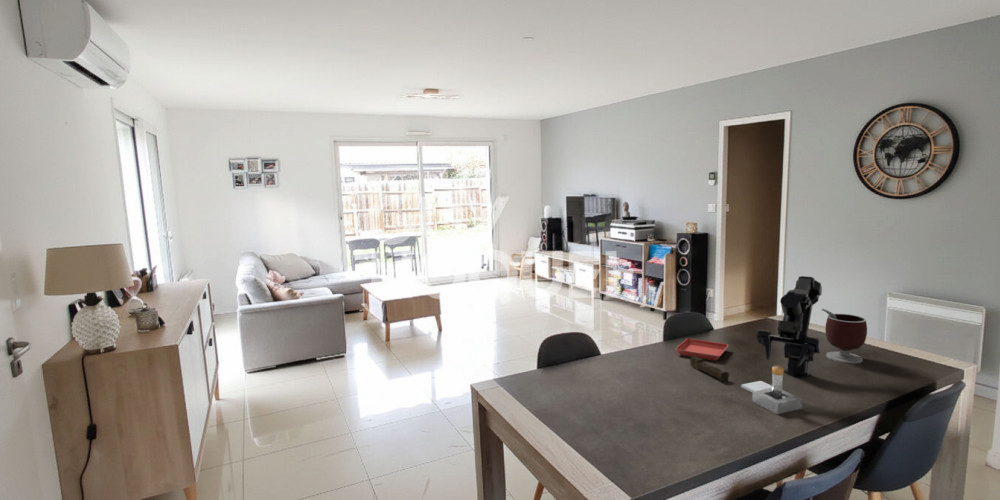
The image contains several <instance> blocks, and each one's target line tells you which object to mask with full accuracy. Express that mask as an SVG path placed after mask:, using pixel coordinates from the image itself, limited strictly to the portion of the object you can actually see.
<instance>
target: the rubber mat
mask: <svg viewBox="0 0 1000 500" xmlns="http://www.w3.org/2000/svg"><path fill="white" fill-rule="evenodd" d="M740 388H741V389H743V390H746V391H748V392H751V393H752V394H753V391H758V390H763V389H768V388H772V384H769V383H766V382H764V381H762V380H758V381H753V382H748V383H743V384H740Z"/></svg>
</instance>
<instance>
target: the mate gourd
mask: <svg viewBox="0 0 1000 500" xmlns="http://www.w3.org/2000/svg"><path fill="white" fill-rule="evenodd" d="M821 311H824V312H825V313H827V317H826V322H825V337H826V340H827V341H828V343H829V344H830V345H831V346H833V347H835V348H837V349H839V351H829V352H827V353H826V356H825V357H826V358H828V359H829V360H831V359H832V360H831V361H835V362H837V363H842V364H843V363H845V364H861V363H862V362H863V360H864V359H863V358H862V356H860V355H857V354H854V353H851V352H850V351H852V350H857V349H858V350H859V349H860V348H861V347H862V346H864V344H865V343H866V340H867V335H868V325H867V319H866V318H865V317H862V316H859V315H855V314H850V313H849V314H848V313H833V312H831V311H829V310H827V309H825V308H821Z"/></svg>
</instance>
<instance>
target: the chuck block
mask: <svg viewBox="0 0 1000 500" xmlns="http://www.w3.org/2000/svg"><path fill="white" fill-rule="evenodd" d="M771 396H772V388H768V389H763V390H758V391H753V393H752V400H751V402H753V403H754V404H756V405H758V406H760V407H762V408H764V409H766V410H769V411H770V412H772V413H774V414H776V415H779V414H784V413H788V412H789V413H790V412H792V411H798V410H801V409H802V406H803V405H802V404H803V403H802V400H803V398H802V397H799V396H798V395H795V394H792V393H790V392H788V391H786V390H783V389H782V399H779V400H777V399H775V398H772V397H771Z"/></svg>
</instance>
